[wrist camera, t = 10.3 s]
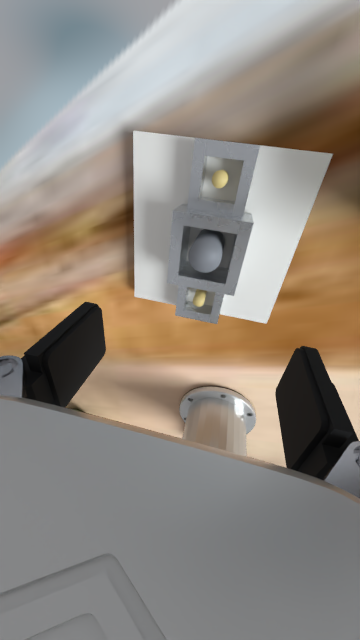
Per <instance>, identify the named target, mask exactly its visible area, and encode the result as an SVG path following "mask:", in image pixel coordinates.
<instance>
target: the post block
mask: <svg viewBox="0 0 360 640" xmlns="http://www.w3.org/2000/svg"><path fill="white" fill-rule="evenodd" d="M209 140H210V139H209ZM218 141H219V140H218ZM194 142H195V138H193V137H184V136H176V135H167V134H158V133H150V132H141V131H133V164H134V277H135V297H139V298H144V299H149V300H154V301H158V302H163V303H168V304H173V305H176V304H177V295H178V286H179V285H174V284H169V283H167V276H168V263H169V250H170V238H171V225H172V212H173V210H174V209H175V208H177V207H178V206H180V205H181V204H188V196H189V187H190V178H191V169H192V160H193V151H194ZM226 142H227V141H226ZM235 143H236V142H235ZM252 145H253V144H252ZM332 155H333V154H330V153H322V152H313V151H304V150H296V149H287V148H279V147H270V146H262V145H260V148H259V152H258V157H257V161H256V165H255V169H254V173H253V177H252V181H251V186H250V190H249V194H248V198H247V202H246V206H245V210H244V213H249V214H252V217H253V222H254V224H253V227H252V231H251V235H250V239H249V242H248V246H247V250H246V253H245V257H244V261H243V265H242V268H241V272H240V276H239V279H238V283H237V287H236V290H235V294H234V296H231V295H226V294H224V298H223V302H222V306H221V310H220V314H222V315H227V316H232V317H237V318H242V319H247V320H251V321H256V322H261V323H266V324H267V321H268V319H269V316H270V314H271V311H272V308H273V306H274V303H275V301H276V298H277V296H278V293H279V291H280V288H281V285H282V283H283V280H284V278H285V275H286V273H287V270H288V268H289V265H290V262H291V260H292V257H293V255H294V252H295V250H296V247H297V245H298V242H299V240H300V237H301V234H302V232H303V229H304V227H305V224H306V222H307V219H308V217H309V214H310V211H311V209H312V206H313V204H314V201H315V199H316V196H317V194H318V191H319V188H320V186H321V183H322V181H323V178H324V176H325V173H326V171H327V168H328V165H329V163H330V160H331V158H332ZM243 162H244V161H241V160H233V159H225V158H217V157H209V156H208V158H207V165H206V172H205V179H204V186H203V193H202V197H209V198H216V199H222V200H229V201H235V199H236V195H237V190H238V185H239V181H240V176H241V172H242V167H243ZM234 239H235V234H233V233H227V232H221V231H214V230H208V229H202V228H196V227H191V228H190V236H189V244H188V252H187V260H186V261H189V262H190V264H191V266H192V267H193V268H194V269H195V270H197V271H199V272H203V273H207V272H211V271H213V270H215V269H216V268H217V267H224V268H228V264H229V260H230V256H231V251H232V247H233V243H234ZM214 297H215V292H210V291H205V290H200V289H195V288H190V287H189V293H188V300H187V301H190V302H193V304H194V305H195V306H197V307H200V306H202V305H203V304H205V305H210V306H213V301H214Z"/></svg>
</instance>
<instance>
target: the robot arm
mask: <svg viewBox="0 0 360 640" xmlns="http://www.w3.org/2000/svg"><path fill="white" fill-rule="evenodd" d="M105 351H106V347H105V337H104V328H103V318H102V310H101V308H99V306H98V305H97V304H94V303H89V302H85V303H83V304H82V305H81V306H80V307H78V308H77V309H76V310H75V311H74V312H72V313H71V314H70V315H69V316H68V317H66V318H65V319H64V320H63V321H62V322H61V323H59V324H58V325H57V326H56V327H55V328H53V329H52V330H51V331H50V332H49V333H47V334H46V335H45V336H44V337H43V338H41V339H40V340H39V341H38V342H37V343H36V344H34V345H33V346H32V347H31V348H30V349H28V350H27V351H26V352H25V353H24V355H25V356H24V357H22V358H21V359H20V358H19V357H16V356H2V357H0V640H360V441H359V440H358V438H357V436H356V433H355V431H354V429H353V426H352V424H351V422H350V420H349V417H348V415H347V413H346V410H345V408H344V406H343V404H342V401H341V399H340V397H339V394H338V392H337V390H336V388H335V386H334V384H333V383H332V382H331V380H330V378H329V376H328V373H327V371H326V369H325V366H324V364H323V362H322V359H321V357H320V355H319V352H318V350H317V349H315V348H310V347H305V346H302V347H300V349H299V348H296V350H295V351H294V353H293V355H292V357H291V359H290V362H289V364H288V366H287V368H286V370H285V372H284V374H283V376H282V378H281V380H280V382H279V384H278V386H277V388H276V402H277V408H278V415H279V421H280V427H281V434H282V440H283V447H284V453H285V460H286V466H287V468H285V467H281V466H278V465H274V464H271V463H268V462H264V461H261V460H257V459H254V458H250V457H247V451H246V434H247V433H249V432H250V431H251V430H252V429H253V428H254V426H255V423H256V414H255V410H254V407H253V406H252V404H251V403H250V402H249V401H248V400H247V399H246V398H245V397H243V396H242V395H240V394H238V393H236V392H234V391H232V390H229V389H225V388H221V387H200V388H197V389H194V390H192V391H190V392H188V393H187V394H186V395H184V397H183V398H182V400H181V403H180V408H179V411H180V415H181V417H182V419H183V420H184V422H185V428H184V432H183V437H182V439H181V438H177V437H174V436H170V435H166V434H163V433H159V432H155V431H151V430H148V429H144V428H140V427H136V426H133V425H129V424H125V423H122V422H118V421H114V420H110V419H106V418H103V417H99V416H95V415H91V414H87V413H84V412H80V411H76V410H72V409H68V408H65V407H66V406H67V405H68V403H69V402H70V401H71V399H72V398H73V396H74V395H75V394H76V392H77V391H78V390H79V388H80V387H81V386H82V384H83V383H84V382H85V380H86V379H87V378H88V376H89V375H90V374H91V372H92V371H93V369H94V368H95V367H96V365H97V364H98V363H99V361H100V360H101V359H102V357H103V356H104V354H105Z"/></svg>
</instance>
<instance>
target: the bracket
mask: <svg viewBox="0 0 360 640" xmlns="http://www.w3.org/2000/svg"><path fill="white" fill-rule="evenodd" d="M259 148H260V145H252V144H244V143H235V142H226V141H218V140H209V139H201V138H195V142H194V151H193V160H192V169H191V178H190V187H189V196H188V204H181V205H180V206H178V207H177V208H175V209H174V210H173V212H172V225H171V238H170V250H169V263H168V276H167V283H169V284H174V285H179V286H178V295H177V304H176V313H175V315H176V316H181V317H186V318H190V319H195V320H200V321H205V322H210V323H214V324H217V322H218V318H219V314H220V310H221V306H222V302H223V298H224V294H226V295H231V296H234V294H235V290H236V287H237V283H238V279H239V276H240V272H241V268H242V265H243V261H244V257H245V253H246V250H247V246H248V242H249V239H250V235H251V231H252V227H253V224H254V222H253V217H252V214H249V213H244V210H245V206H246V202H247V198H248V194H249V190H250V186H251V181H252V177H253V173H254V169H255V165H256V161H257V157H258V152H259ZM208 156H209V157H217V158H225V159H233V160H241V161H244V162H243V167H242V172H241V176H240V181H239V185H238V190H237V195H236V199H235V201H229V200H222V199H216V198H209V197H202V193H203V186H204V179H205V172H206V165H207V158H208ZM191 227H196V228H202V229H208V230H214V231H221V232H227V233H233V234H235V239H234V243H233V247H232V251H231V256H230V260H229V264H228V268H224V267H217V268H216V269H215V270H213V271H211V272H207V273H203V272H199V271H197V270H195V269H194V268H193V267H192V266H191V264H190V262H189V261H186V260H187V252H188V244H189V236H190V228H191ZM189 287H190V288H195V289H200V290H205V291H210V292H215V297H214V301H213V306H210V305H205V304H203V305H202V306H200V307H197V306H195V305H194V304H193V302H190V301H187V300H188V293H189Z"/></svg>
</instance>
